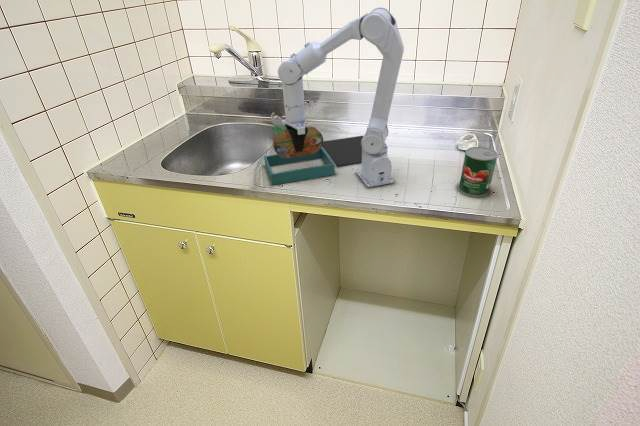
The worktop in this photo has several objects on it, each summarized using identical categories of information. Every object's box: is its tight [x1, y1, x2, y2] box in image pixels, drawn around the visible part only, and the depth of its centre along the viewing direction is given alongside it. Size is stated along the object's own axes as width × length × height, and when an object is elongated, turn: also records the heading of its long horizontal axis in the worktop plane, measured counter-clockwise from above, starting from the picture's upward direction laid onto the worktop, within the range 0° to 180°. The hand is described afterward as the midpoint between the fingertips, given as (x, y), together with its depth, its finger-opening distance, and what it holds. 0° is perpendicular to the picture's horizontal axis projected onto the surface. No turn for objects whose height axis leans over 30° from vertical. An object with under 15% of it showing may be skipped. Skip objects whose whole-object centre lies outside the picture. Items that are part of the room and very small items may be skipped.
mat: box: [322, 135, 364, 168], centre depth 129 cm, size 20×16×1 cm
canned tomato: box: [458, 146, 499, 198], centre depth 101 cm, size 8×8×11 cm
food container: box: [270, 111, 287, 136], centre depth 133 cm, size 12×6×10 cm, turn 62°
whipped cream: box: [457, 133, 480, 151], centre depth 125 cm, size 8×7×5 cm
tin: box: [272, 125, 324, 159], centre depth 113 cm, size 15×3×8 cm, turn 105°
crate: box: [264, 146, 336, 186], centre depth 117 cm, size 13×19×4 cm
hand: (298, 148), depth 114 cm, fingers closed on tin, 2 cm apart
